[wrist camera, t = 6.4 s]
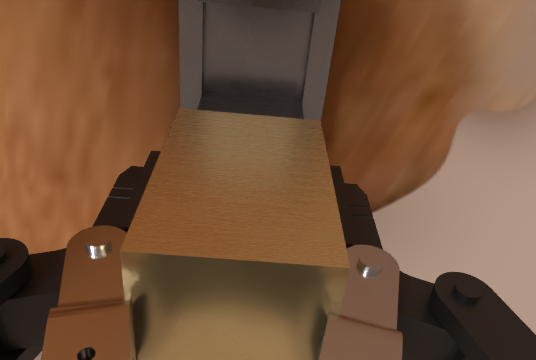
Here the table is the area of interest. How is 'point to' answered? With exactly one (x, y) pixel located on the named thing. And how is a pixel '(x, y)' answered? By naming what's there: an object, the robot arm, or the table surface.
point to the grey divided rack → (256, 56)
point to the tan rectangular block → (236, 241)
